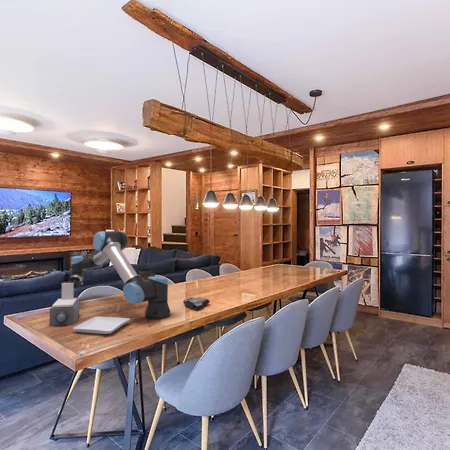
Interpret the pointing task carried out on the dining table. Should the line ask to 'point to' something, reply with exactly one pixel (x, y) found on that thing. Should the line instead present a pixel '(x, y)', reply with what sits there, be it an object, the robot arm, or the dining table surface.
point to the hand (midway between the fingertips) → (67, 288)
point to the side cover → (66, 296)
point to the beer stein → (146, 273)
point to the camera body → (64, 315)
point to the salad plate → (101, 325)
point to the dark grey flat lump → (195, 302)
